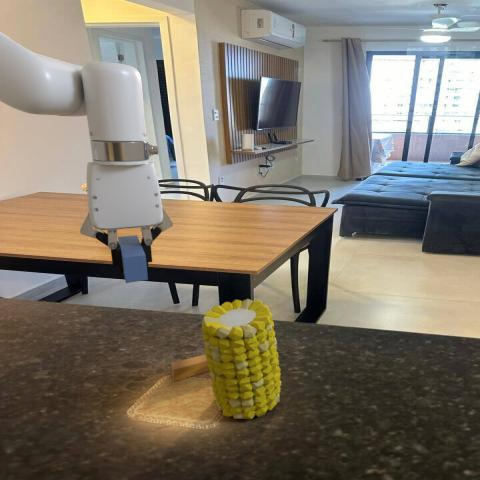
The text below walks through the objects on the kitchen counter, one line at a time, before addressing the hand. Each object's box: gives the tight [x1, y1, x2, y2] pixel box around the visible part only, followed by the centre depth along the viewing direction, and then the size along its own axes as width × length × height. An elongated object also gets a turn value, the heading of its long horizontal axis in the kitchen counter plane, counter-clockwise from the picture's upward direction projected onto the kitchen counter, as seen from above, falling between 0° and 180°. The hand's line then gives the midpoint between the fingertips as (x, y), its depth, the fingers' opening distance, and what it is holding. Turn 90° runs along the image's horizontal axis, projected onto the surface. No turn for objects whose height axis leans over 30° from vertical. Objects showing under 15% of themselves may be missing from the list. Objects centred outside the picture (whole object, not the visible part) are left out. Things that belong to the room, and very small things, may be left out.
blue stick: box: [117, 234, 149, 284], centre depth 62 cm, size 12×3×4 cm, turn 30°
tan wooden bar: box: [170, 353, 210, 382], centre depth 61 cm, size 12×2×2 cm, turn 120°
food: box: [200, 298, 282, 420], centre depth 52 cm, size 15×12×10 cm
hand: (133, 267), depth 62 cm, fingers closed on blue stick, 3 cm apart
